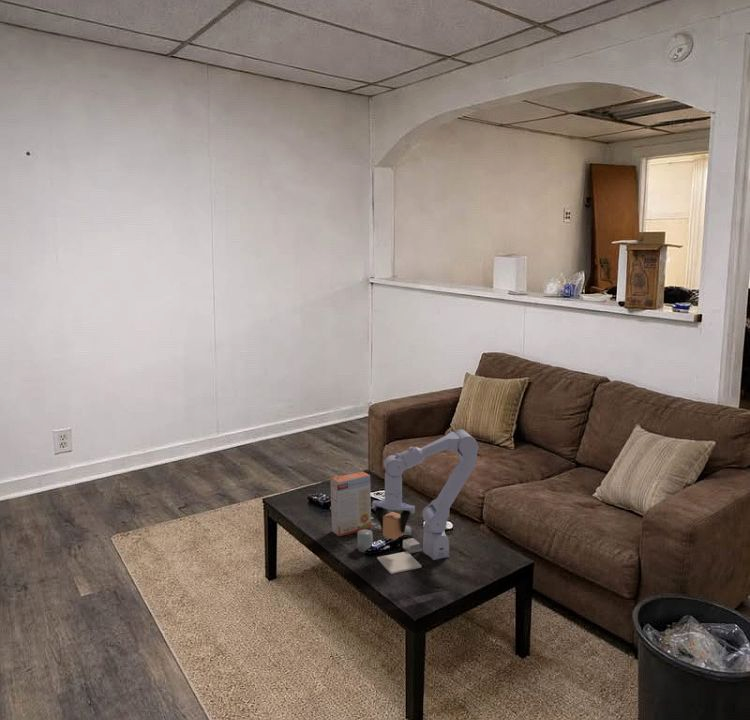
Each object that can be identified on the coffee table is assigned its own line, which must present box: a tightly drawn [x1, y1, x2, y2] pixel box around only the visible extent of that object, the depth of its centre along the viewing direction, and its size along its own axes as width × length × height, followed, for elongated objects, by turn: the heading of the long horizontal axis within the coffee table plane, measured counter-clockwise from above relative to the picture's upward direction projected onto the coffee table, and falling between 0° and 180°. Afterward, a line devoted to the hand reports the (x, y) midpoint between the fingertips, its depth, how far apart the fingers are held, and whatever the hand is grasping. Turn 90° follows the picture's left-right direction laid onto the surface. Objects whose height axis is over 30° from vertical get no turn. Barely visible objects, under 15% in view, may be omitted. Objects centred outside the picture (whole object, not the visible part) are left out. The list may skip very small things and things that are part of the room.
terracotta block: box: [382, 511, 404, 541], centre depth 211 cm, size 5×5×7 cm
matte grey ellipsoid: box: [404, 524, 412, 536], centre depth 228 cm, size 6×6×2 cm
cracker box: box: [330, 471, 372, 538], centre depth 230 cm, size 14×6×21 cm, turn 122°
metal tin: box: [402, 537, 421, 555], centre depth 216 cm, size 5×4×3 cm
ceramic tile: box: [376, 550, 423, 575], centre depth 207 cm, size 11×11×1 cm
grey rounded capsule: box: [356, 529, 373, 553], centre depth 217 cm, size 5×5×6 cm
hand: (393, 529), depth 211 cm, fingers closed on terracotta block, 6 cm apart
